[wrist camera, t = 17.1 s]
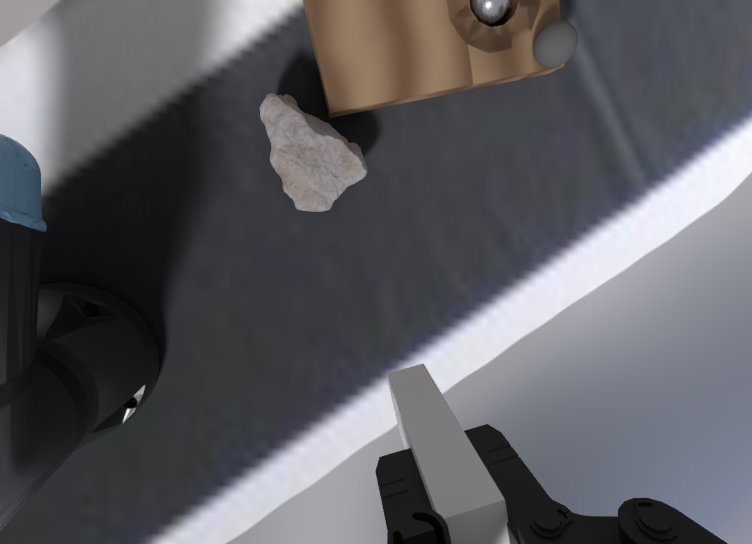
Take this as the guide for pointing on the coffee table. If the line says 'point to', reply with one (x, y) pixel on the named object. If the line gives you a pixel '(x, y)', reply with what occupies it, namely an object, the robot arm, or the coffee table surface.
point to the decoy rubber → (555, 44)
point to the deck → (419, 49)
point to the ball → (489, 10)
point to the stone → (309, 154)
